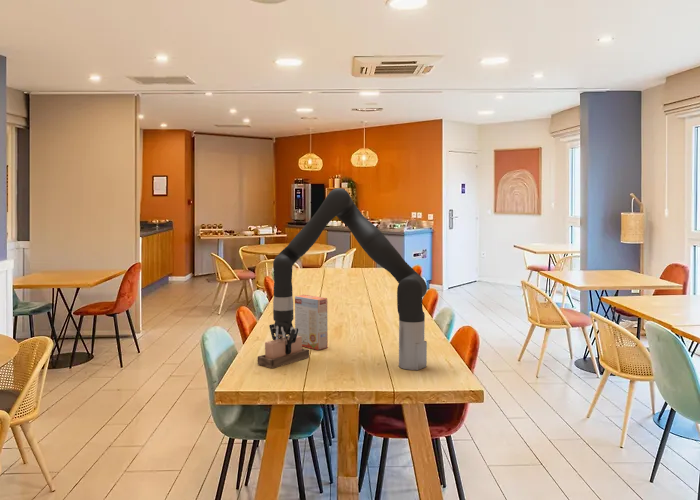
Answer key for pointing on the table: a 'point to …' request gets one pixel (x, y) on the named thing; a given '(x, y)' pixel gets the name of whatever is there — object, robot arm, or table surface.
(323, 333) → the cracker box
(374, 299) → the table surface
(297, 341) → the clay strip
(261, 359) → the tray
